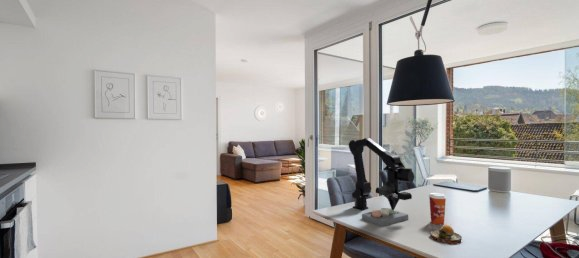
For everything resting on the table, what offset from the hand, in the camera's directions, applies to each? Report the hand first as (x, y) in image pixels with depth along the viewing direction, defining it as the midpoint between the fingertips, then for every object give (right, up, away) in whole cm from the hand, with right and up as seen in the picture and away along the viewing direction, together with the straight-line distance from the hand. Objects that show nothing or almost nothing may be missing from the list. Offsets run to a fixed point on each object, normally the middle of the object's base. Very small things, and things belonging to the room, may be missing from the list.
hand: (392, 209), depth 147 cm
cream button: (-5, -2, -3) cm, 6 cm away
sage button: (0, -4, 0) cm, 4 cm away
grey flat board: (-5, -4, -3) cm, 7 cm away
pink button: (-10, -3, -6) cm, 12 cm away
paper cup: (+18, -4, -9) cm, 21 cm away
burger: (+12, -5, -28) cm, 31 cm away
